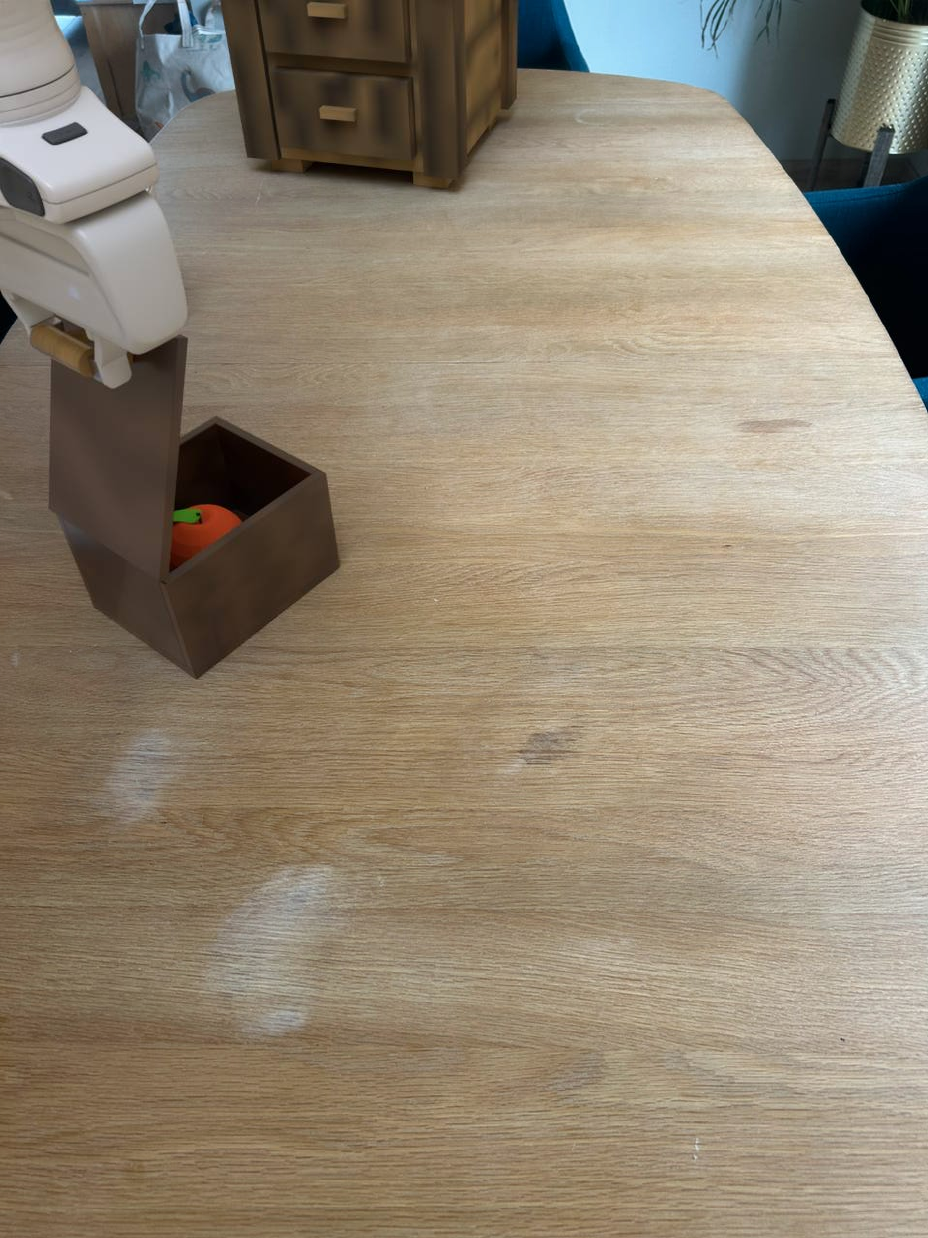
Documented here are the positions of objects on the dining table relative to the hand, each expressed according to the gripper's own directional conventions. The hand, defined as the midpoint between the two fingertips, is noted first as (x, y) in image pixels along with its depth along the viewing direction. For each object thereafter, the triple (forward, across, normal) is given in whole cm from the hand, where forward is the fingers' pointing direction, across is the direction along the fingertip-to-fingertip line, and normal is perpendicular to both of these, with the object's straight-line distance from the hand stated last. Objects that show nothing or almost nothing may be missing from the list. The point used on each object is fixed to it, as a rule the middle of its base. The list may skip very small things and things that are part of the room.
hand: (83, 364), depth 62 cm
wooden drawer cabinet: (+23, -51, +83) cm, 100 cm away
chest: (+23, 0, +5) cm, 24 cm away
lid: (+6, 0, +1) cm, 6 cm away
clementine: (+23, 0, +5) cm, 23 cm away
